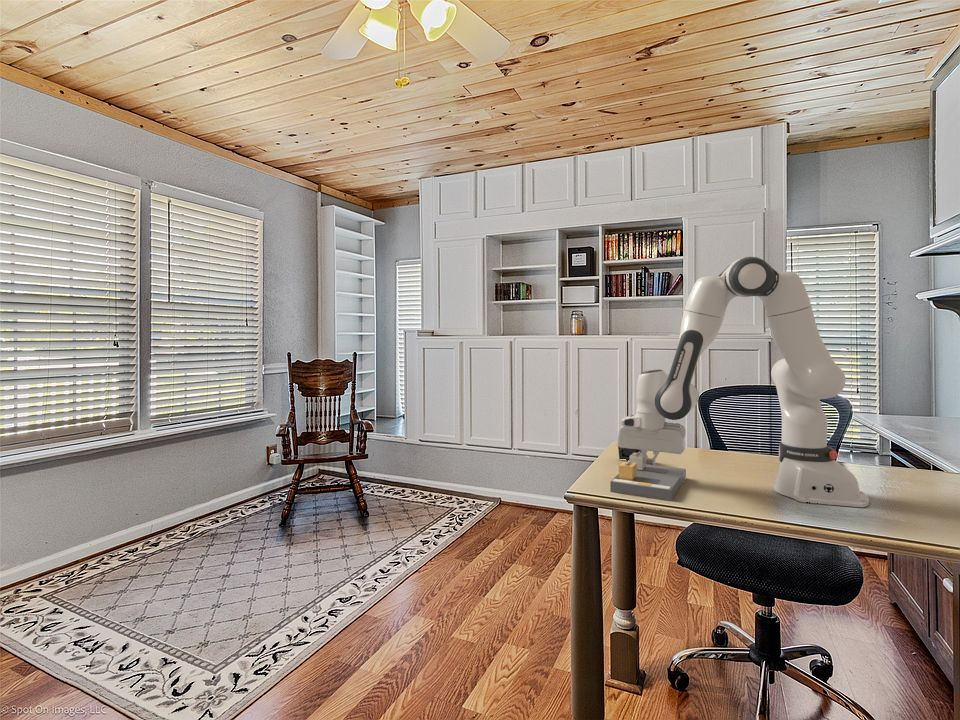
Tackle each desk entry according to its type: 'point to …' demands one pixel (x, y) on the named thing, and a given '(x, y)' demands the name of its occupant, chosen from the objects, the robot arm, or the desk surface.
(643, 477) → the switch unit
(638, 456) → the ivory slider
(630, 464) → the amber slider
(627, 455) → the grey hollow box
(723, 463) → the desk surface
